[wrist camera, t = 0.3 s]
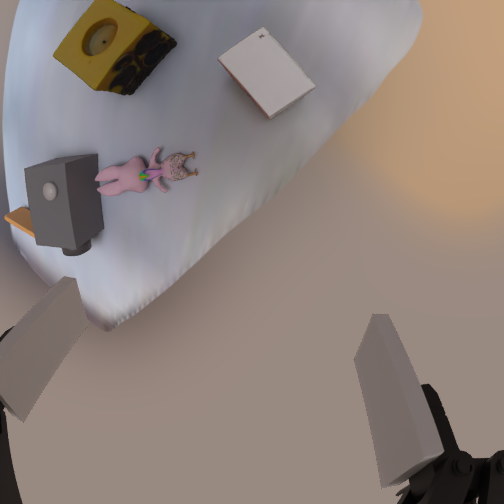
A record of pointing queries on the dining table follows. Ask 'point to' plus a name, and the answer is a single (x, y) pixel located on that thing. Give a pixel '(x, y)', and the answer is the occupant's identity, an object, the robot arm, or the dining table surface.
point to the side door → (21, 220)
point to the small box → (266, 72)
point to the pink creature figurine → (142, 174)
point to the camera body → (65, 202)
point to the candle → (113, 48)
